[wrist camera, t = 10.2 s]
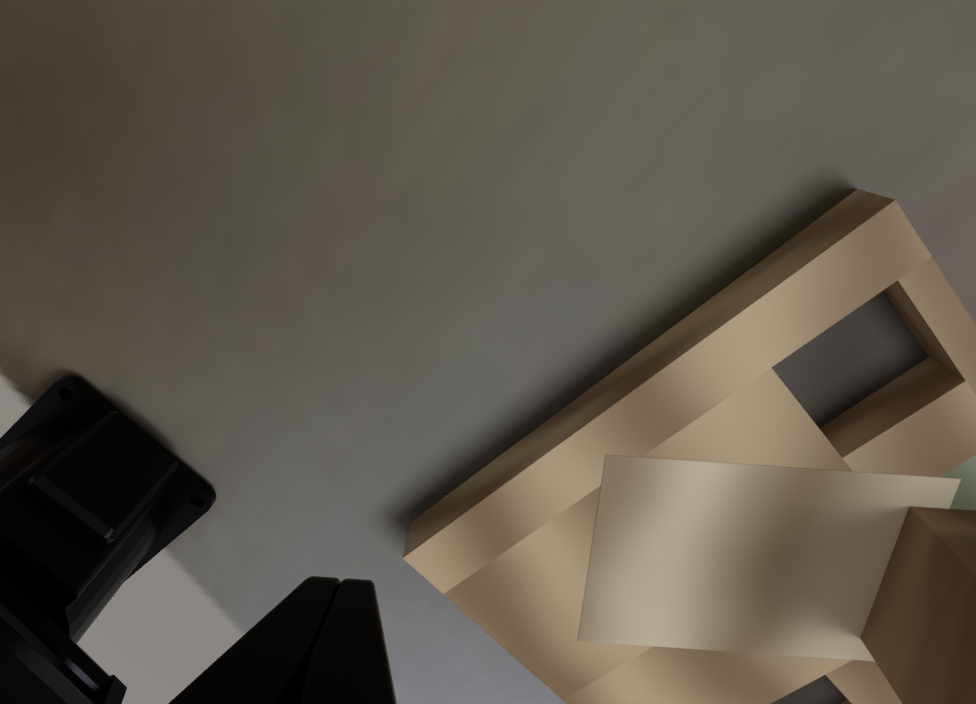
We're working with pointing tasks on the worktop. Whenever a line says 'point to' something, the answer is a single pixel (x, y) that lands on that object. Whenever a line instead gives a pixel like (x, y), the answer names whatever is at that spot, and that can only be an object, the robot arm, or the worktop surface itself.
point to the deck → (729, 484)
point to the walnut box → (928, 609)
